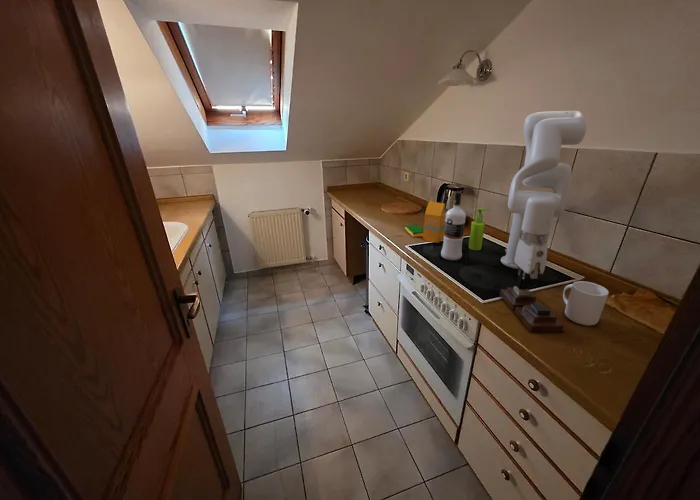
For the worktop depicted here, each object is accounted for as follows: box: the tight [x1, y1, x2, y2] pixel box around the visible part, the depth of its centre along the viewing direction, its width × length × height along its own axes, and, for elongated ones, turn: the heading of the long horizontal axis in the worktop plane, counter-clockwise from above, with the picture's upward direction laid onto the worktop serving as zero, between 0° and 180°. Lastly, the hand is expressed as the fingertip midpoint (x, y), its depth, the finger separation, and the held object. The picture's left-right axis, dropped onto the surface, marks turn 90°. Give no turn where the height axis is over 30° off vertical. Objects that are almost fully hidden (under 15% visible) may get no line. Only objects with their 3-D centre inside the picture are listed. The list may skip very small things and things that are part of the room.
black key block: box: [514, 305, 565, 333], centre depth 91 cm, size 10×9×4 cm
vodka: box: [440, 191, 467, 262], centre depth 132 cm, size 9×9×30 cm
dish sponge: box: [404, 224, 424, 238], centre depth 169 cm, size 7×14×2 cm, turn 9°
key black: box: [530, 303, 551, 315], centre depth 90 cm, size 4×4×2 cm
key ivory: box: [513, 285, 531, 295], centre depth 100 cm, size 4×4×2 cm
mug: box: [562, 280, 610, 326], centre depth 93 cm, size 9×12×11 cm
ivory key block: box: [498, 286, 542, 312], centre depth 101 cm, size 10×9×4 cm
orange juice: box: [422, 201, 447, 244], centre depth 155 cm, size 8×9×20 cm
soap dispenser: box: [467, 207, 490, 251], centre depth 142 cm, size 6×7×20 cm
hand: (522, 287), depth 100 cm, fingers closed
